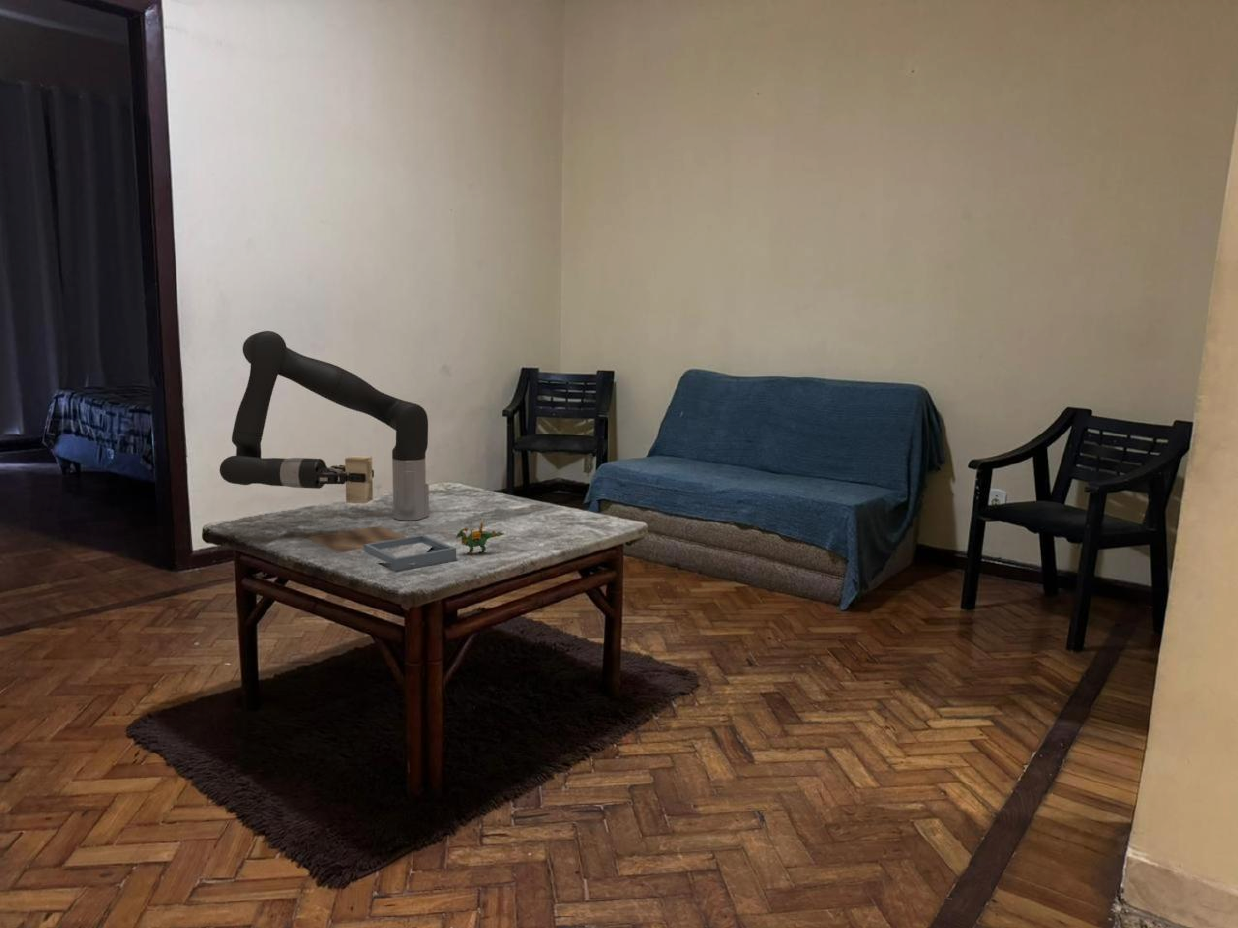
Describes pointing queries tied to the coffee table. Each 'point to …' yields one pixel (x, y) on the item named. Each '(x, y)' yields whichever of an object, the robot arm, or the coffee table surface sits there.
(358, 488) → the maple block
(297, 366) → the robot arm
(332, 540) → the walnut board
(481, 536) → the figurine
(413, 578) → the coffee table surface
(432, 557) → the box
